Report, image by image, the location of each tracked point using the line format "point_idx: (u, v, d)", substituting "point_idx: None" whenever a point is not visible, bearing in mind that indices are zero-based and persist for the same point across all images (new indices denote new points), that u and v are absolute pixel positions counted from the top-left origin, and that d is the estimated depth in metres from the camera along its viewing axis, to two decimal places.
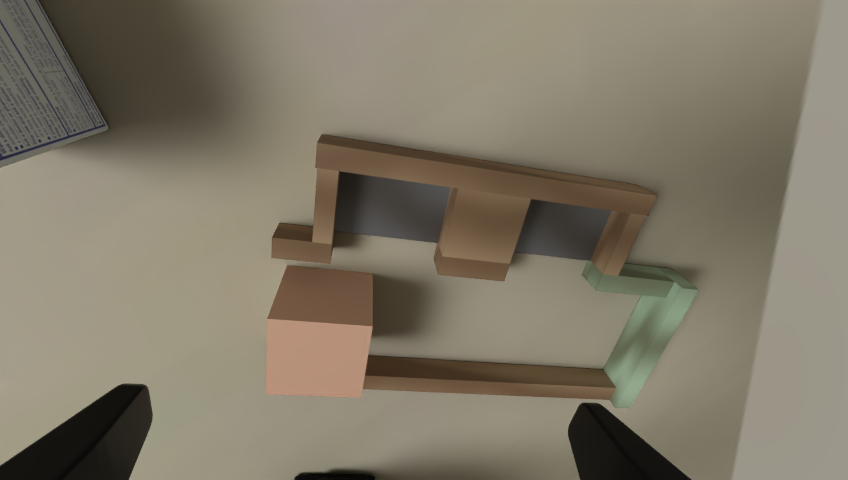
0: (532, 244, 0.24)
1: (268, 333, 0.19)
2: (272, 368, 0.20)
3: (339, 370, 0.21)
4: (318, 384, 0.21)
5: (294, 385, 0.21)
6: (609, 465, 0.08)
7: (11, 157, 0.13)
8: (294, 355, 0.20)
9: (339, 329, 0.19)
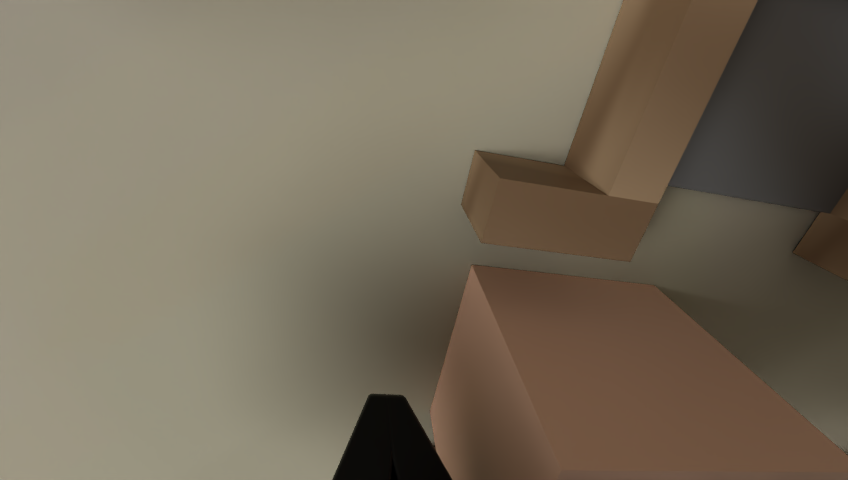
0: None
1: None
2: None
3: None
4: None
5: None
6: None
7: None
8: None
9: None
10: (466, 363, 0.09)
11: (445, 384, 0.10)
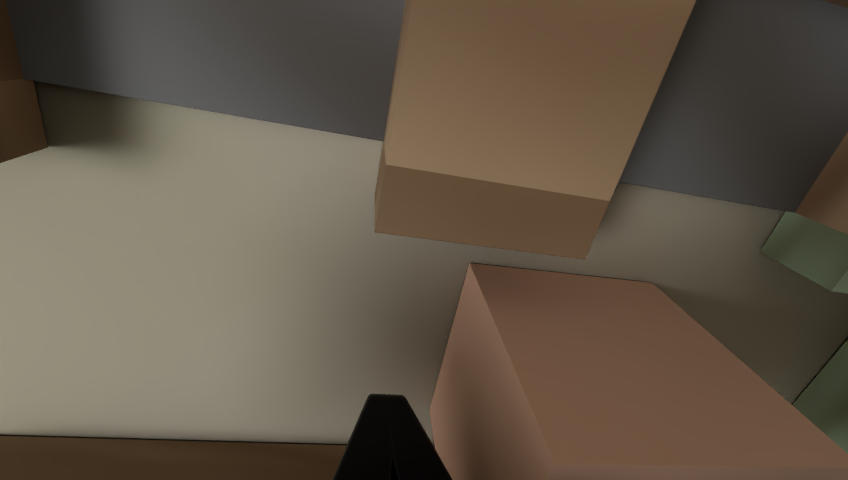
0: (655, 156, 0.08)
1: None
2: None
3: None
4: None
5: None
6: None
7: None
8: None
9: None
10: (464, 360, 0.09)
11: (443, 382, 0.10)
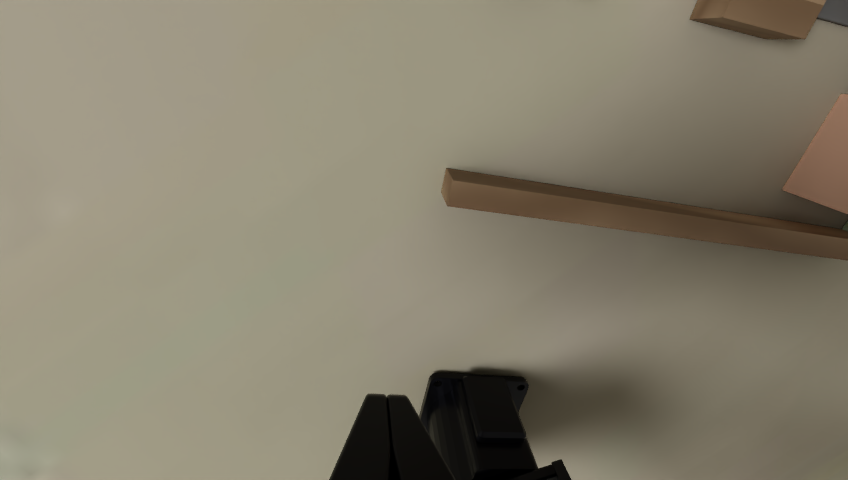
0: None
1: None
2: None
3: None
4: None
5: None
6: None
7: None
8: None
9: None
10: (845, 135, 0.19)
11: (808, 162, 0.20)
